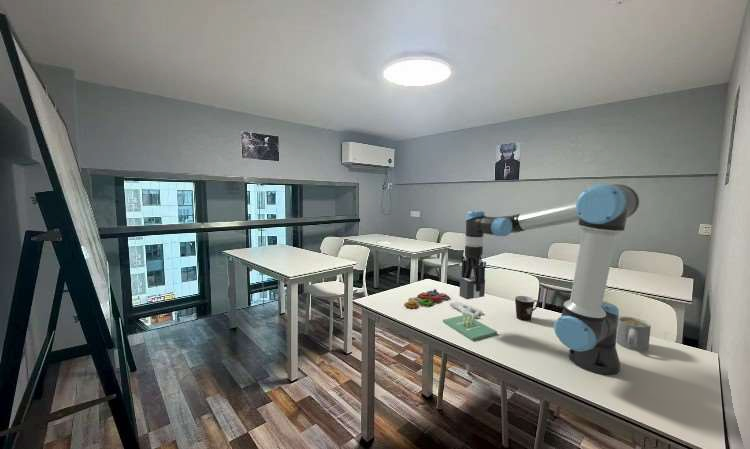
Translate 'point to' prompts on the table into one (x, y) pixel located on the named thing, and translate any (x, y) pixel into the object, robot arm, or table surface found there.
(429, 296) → the gear puzzle
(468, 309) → the gun
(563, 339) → the robot arm
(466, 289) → the plug
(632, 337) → the coffee mug
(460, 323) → the board
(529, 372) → the table surface
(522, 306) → the coffee mug
